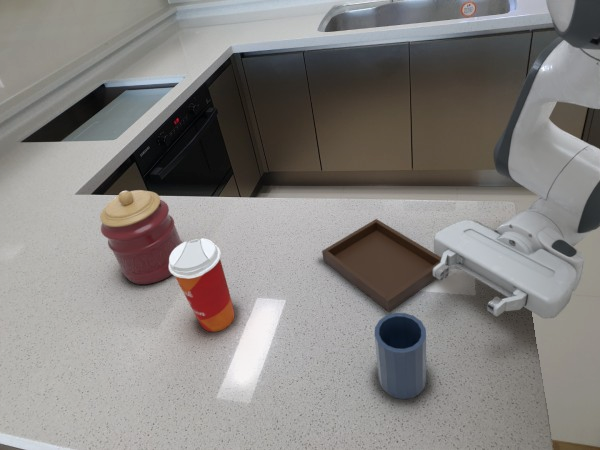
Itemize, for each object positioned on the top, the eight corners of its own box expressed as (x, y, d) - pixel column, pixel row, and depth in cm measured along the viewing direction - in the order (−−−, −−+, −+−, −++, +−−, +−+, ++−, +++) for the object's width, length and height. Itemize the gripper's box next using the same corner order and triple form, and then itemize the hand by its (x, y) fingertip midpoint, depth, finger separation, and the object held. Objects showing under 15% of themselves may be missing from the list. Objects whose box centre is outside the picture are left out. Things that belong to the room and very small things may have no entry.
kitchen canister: (180, 236, 101) (152, 166, 91) (193, 269, 91) (163, 195, 81) (121, 258, 98) (86, 188, 88) (128, 295, 88) (88, 221, 78)
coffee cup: (196, 305, 83) (169, 241, 74) (241, 297, 83) (219, 231, 74) (192, 342, 76) (162, 276, 67) (241, 332, 76) (217, 265, 67)
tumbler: (435, 380, 63) (436, 332, 58) (402, 408, 61) (399, 361, 55) (402, 351, 68) (400, 305, 62) (369, 376, 66) (364, 330, 60)
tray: (446, 271, 80) (446, 260, 78) (388, 311, 74) (388, 301, 73) (377, 228, 92) (376, 218, 91) (323, 260, 87) (321, 250, 86)
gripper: (468, 202, 75) (407, 241, 70) (597, 261, 60) (532, 316, 55) (466, 232, 79) (408, 271, 73) (587, 295, 64) (525, 350, 59)
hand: (462, 291), depth 64 cm, fingers open, 8 cm apart
